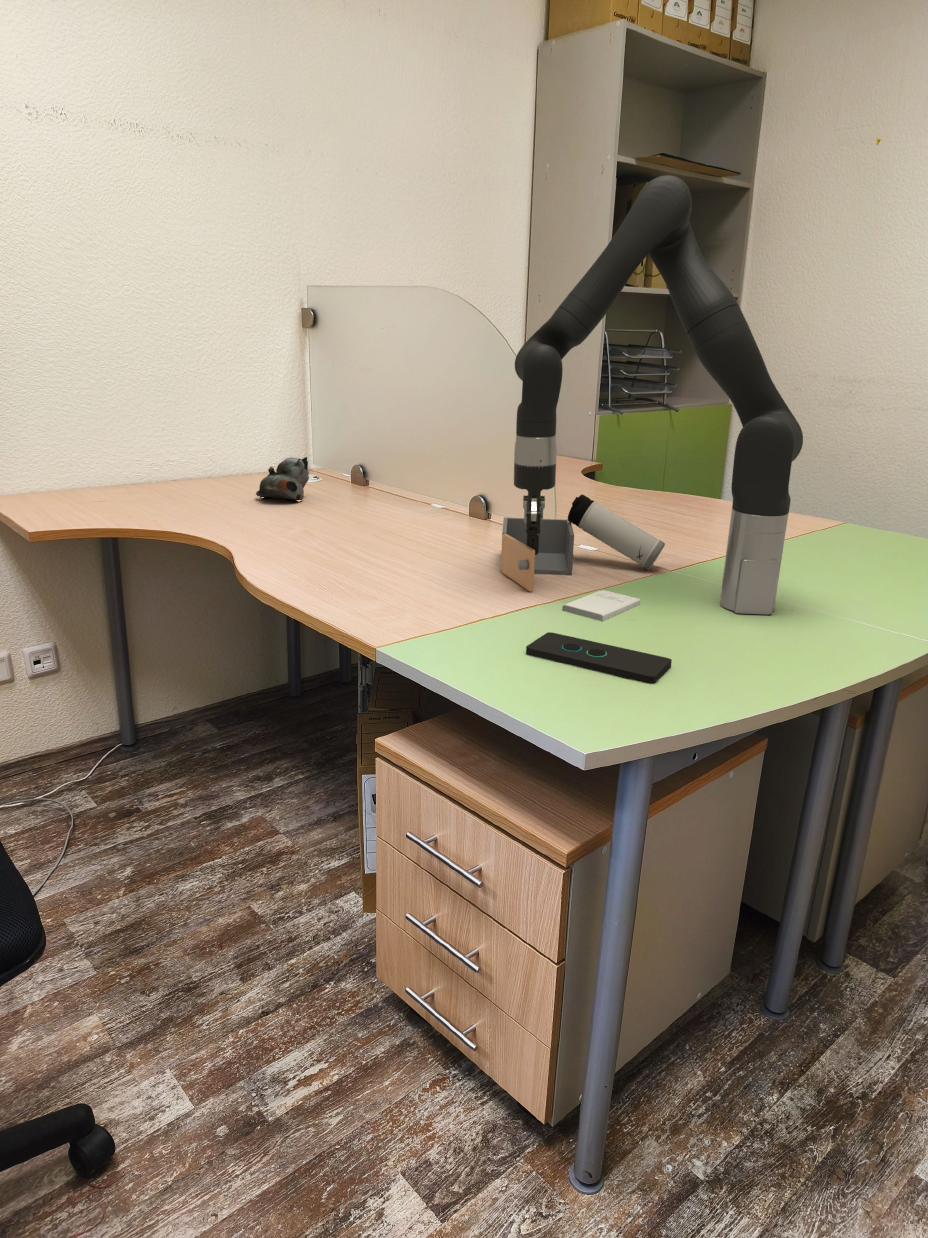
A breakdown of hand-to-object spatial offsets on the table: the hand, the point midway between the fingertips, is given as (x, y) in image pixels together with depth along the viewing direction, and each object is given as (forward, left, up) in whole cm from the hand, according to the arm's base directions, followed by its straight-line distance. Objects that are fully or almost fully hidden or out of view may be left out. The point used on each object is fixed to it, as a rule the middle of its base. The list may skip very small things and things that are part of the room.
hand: (532, 553), depth 155 cm
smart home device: (-36, -9, -7) cm, 38 cm away
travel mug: (+14, -26, -3) cm, 29 cm away
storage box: (+15, -1, -6) cm, 16 cm away
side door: (+1, +3, -6) cm, 7 cm away
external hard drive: (-12, -12, -7) cm, 18 cm away
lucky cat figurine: (+72, +67, -6) cm, 99 cm away
